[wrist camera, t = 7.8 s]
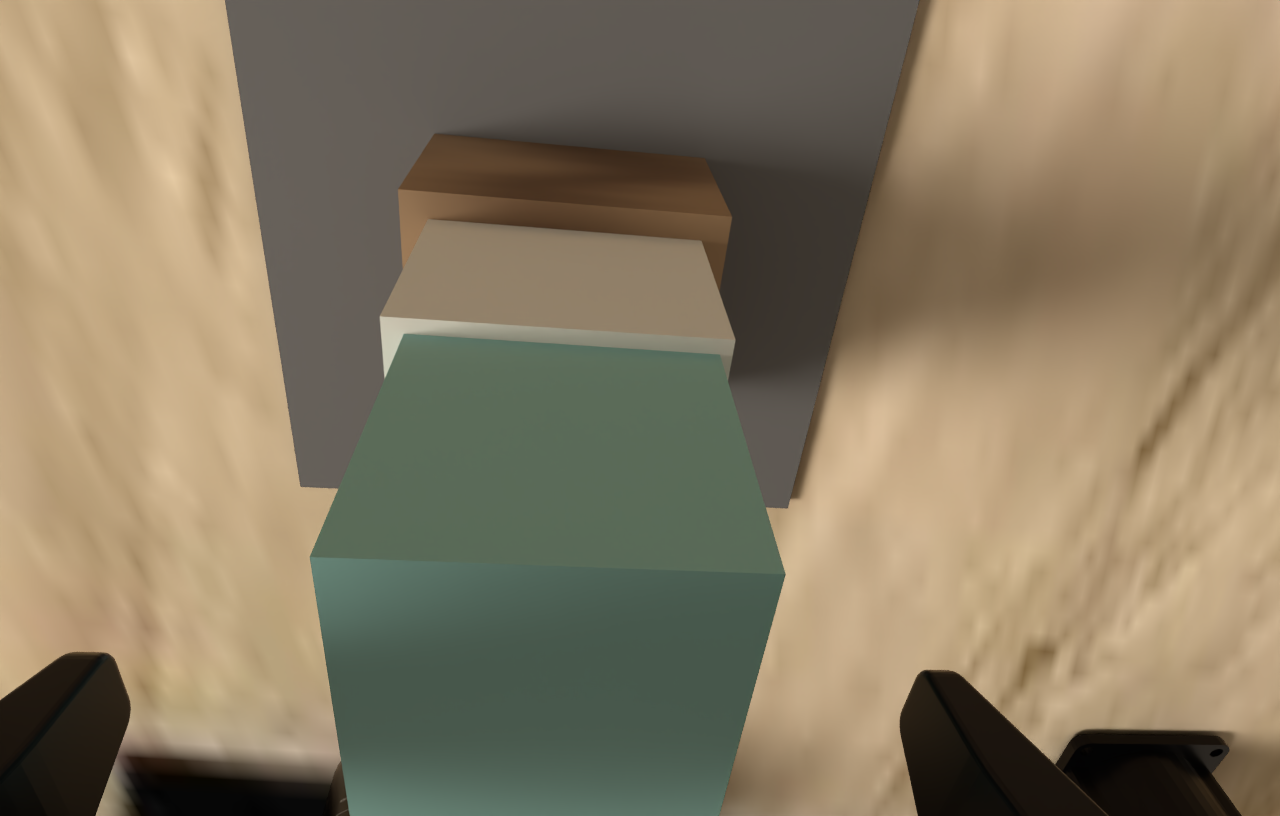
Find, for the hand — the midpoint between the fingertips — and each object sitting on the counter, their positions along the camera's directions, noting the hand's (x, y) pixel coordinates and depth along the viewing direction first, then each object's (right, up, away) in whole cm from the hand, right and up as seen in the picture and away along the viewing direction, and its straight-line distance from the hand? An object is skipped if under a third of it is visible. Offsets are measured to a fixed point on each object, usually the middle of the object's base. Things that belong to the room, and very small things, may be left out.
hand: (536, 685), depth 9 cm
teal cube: (0, +2, +4) cm, 4 cm away
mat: (-1, +7, +11) cm, 13 cm away
